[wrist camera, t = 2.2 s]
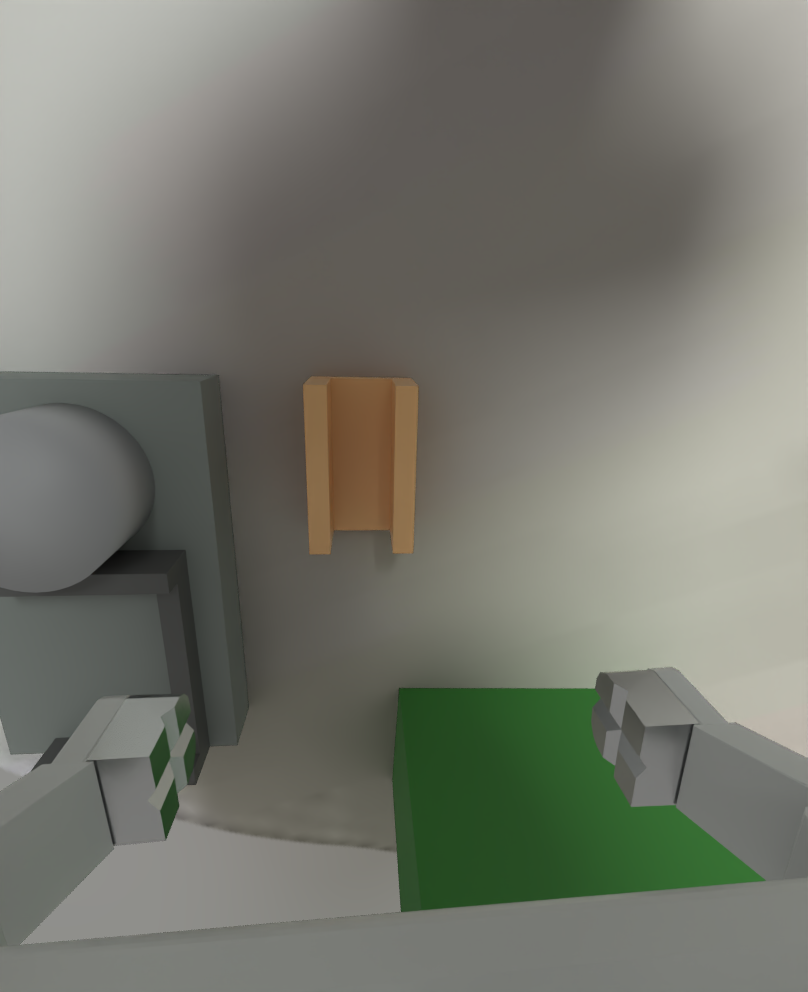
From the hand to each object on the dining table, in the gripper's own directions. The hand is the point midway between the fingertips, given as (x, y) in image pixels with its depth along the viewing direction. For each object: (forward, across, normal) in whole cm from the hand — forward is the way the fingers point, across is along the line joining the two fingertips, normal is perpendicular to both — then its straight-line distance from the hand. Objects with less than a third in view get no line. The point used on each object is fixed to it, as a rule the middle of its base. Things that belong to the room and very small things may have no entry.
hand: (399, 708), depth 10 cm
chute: (+18, +1, -1) cm, 18 cm away
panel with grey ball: (+18, +14, +5) cm, 23 cm away
